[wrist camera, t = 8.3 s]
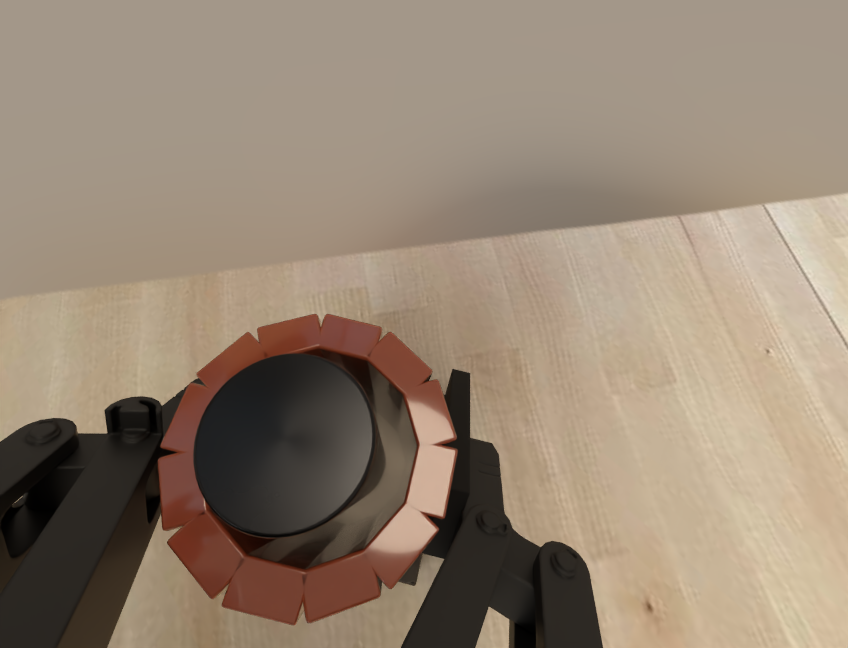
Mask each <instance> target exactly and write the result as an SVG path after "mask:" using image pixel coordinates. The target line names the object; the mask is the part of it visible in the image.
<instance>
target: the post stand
mask: <svg viewBox="0 0 848 648" xmlns="http://www.w3.org/2000/svg"><path fill="white" fill-rule="evenodd" d="M444 397H445V395H444ZM193 462H194V470H195V476H196V480H197V483H198V486H199V489H200V492H201V494H202V496H203V498H204V500H205V501H206V503H207V504H208V505H209V507H210V508H211V510H212V511H213V512H214V513H215V514H216V515H217V516H218V517H219V518H220V519H221V520H222V521H224V522H225V523H226V524H228V525H229V526H230V527H232V528H234V529H236V530H238V531H240V532H242V533H245V534H248V535H251V536H254V537H260V538H266V539H282V538H290V537H295V536H299V535H303V534H306V533H308V532H311V531H313V530H316V529H318V528H319V527H321V526H323V525H325V524H326V523H328V522H330V521H331V520H332V521H336V522H340V523H344V524H350V523H353V522H356V521H359V520H362V519H365V518H368V517H371V516H374V515H377V514H378V513H379V512H380V511H381V509H382V508H383V507H384V506H385V505H386V504H387V503H388V502H389V500H390V499H391V498H392V497H393V496H394V495H395V494H396V493H397V491H398V489H399V485H400V481H401V477H402V472H403V468H404V464H405V458H404V454H403V450H402V447H401V443H400V439H399V435H398V432H397V431H396V430H395V429H394V428H393V427H392V426H391V425H390V424H389V423H388V422H387V421H386V420H385V419H384V418H383V417H382V416H381V415H380V414H379V413H377V412H374V411H373V408H372V405H371V402H370V400H369V398H368V396H367V394H366V392H365V390H364V389H363V387H362V386H361V384H360V383H359V382H358V381H357V380H356V379H355V378H354V376H353V375H351V374H350V373H349V372H348V371H347V370H346V369H344V368H343V367H341V366H340V365H338V364H336V363H334V362H332V361H330V360H328V359H325V358H322V357H319V356H316V355H310V354H301V353H290V354H281V355H276V356H271V357H268V358H265V359H262V360H260V361H257V362H255V363H253V364H251V365H249V366H247V367H246V368H244V369H242V370H241V371H239V372H238V373H237V374H235V375H234V376H233V377H231V378H230V379H229V380H228V381H227V382H226V383H225V384H224V385H223V386H222V387H221V388H220V389H219V390H218V392H217V393H216V394H215V395H214V396H213V398H212V399H211V401H210V402H209V404H208V405H207V407H206V409H205V411H204V413H203V415H202V417H201V420H200V423H199V425H198V428H197V432H196V436H195V441H194V450H193ZM421 557H422V553H421V554H420V555H419V556H418V558H417V559H416V560H415V561H414V563H413V564H412V565H411V566H410V567H409V569H408V570H407V571H406V572H405V574H404V575H403V576H402V577H401V579H400V580H399V581H398V582H401V583H405V584H409V585H413V586H415V585H416V582H417V577H418V572H419V567H420V562H421Z"/></svg>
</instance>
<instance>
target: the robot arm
mask: <svg viewBox="0 0 848 648" xmlns="http://www.w3.org/2000/svg"><path fill="white" fill-rule="evenodd" d="M191 383H196V384H200V385H204V386H205V384H204V383H203V382H202V381H201V380H200V379H199V378H198V379H196V380H194V381H193V382H191ZM187 387H188V386H187ZM187 387H185V388H184V390H182V391H180V392H179V393H178V394H177V395H176V396H175V397H173V398H172V399H170V400H169V401H168V402H167V403H165V404H164V405H163V406H162V405H161V404H160V402H159V401H157V400H155V399H153V398H150V397H143V396H142V397H130V398H126V399H122V400H119V401H117V402H115V403H113V404H111V405H110V406H109V407H108V408H106V409H105V417H106V425H107V432H108V433H107V434H78V433H77V427H76V425H75V424H74V423H73V421H70V420H67V419H61V418H51V419H45V420H39V421H36V422H33V423H30V424H28V425H26V426H24V427H22V428H20V429H18V430H17V431H15V432H14V433H12V434H11V435H9V436H8V437H7V438H5V439H4V440H2V441H1V442H0V648H107V646H108V644H109V641H110V639H111V636H112V634H113V631H114V629H115V626H116V624H117V621H118V619H119V616H120V614H121V611H122V609H123V606H124V604H125V601H126V599H127V597H128V594H129V592H130V589H131V587H132V584H133V582H134V579H135V577H136V574H137V572H138V569H139V567H140V564H141V562H142V559H143V557H144V554H145V552H146V549H147V547H148V544H149V542H150V539H151V537H152V534H153V532H154V529H155V527H156V524H157V522H158V519H159V517H160V514H161V502H160V487H159V473H158V459H159V458H161V457H163V456H166V455H170V454H173V453H177V452H173V451H169V450H165V449H162V448H161V447H160V445H161V443H162V441H163V438H164V436H165V434H166V432H167V430H168V428H169V425H170V423H171V421H172V419H173V417H174V415H175V413H176V410H177V408H178V406H179V404H180V402H181V400H182V397H183V395H184V393H185V391H186V389H187ZM444 399H445V402H446V405H447V408H448V411H449V414H450V417H451V420H452V424H453V427H454V430H455V433H456V436H457V439H456V440H455V441H453V442H452V443H450V444H448V445H447V446H449V447H453V448H456V449H457V450H458V453H457V459H456V464H455V469H454V474H453V480H452V485H451V490H450V495H449V500H448V506H447V511H446V516H445V518H444V519H439V518H435V517H431V516H428V517H429V518H430V519H431V520H432V521H433V522H434V523H435V524H436V525H437V526H438V527H439V532H438V533H437V534H436V535H435V537H434V538H433V539H432V540H431V542H430V543H429V544H428V545H427V547H426V548H425V549H424V550H423V551H422V553H423V554H427V555H431V556H435V557H439V558H443V559H444V561H443V563H442V565H441V567H440V569H439V571H438V573H437V575H436V577H435V579H434V581H433V583H432V585H431V587H430V589H429V591H428V593H427V595H426V597H425V600H424V602H423V604H422V606H421V608H420V610H419V612H418V614H417V616H416V618H415V620H414V622H413V624H412V626H411V628H410V630H409V632H408V634H407V636H406V638H405V640H404V642H403V644H402V646H401V648H475V647H476V643H477V640H478V637H479V634H480V631H481V628H482V625H483V622H484V619H485V616H486V613H487V610H488V607H491V608H492V609H494V610H496V611H497V612H499V613H500V614H502V615H504V616H505V617H507V618H508V619H509V648H603V645H602V640H601V634H600V629H599V623H598V618H597V612H596V607H595V601H594V596H593V590H592V585H591V579H590V574H589V571H588V568H587V565H586V563H585V562H584V560H583V559H582V558H581V556H580V555H579V554H578V553H577V552H576V551H575V550H573V549H572V548H571V547H569V546H567V545H565V544H563V543H561V542H555V541H551V542H547V543H545V544H544V545H543V546H542V547H539V546H537V545H535V544H534V543H532V542H530V541H528V540H526V539H525V538H523V537H522V536H520V535H519V534H518V533H517V532H516V531H515V530H514V529H513V528H512V526H511V523H510V520H509V519H508V518H507V516H506V515H505V513H504V505H503V494H502V484H501V477H500V476H501V473H500V468H499V467H500V463H499V454H498V453H497V451H496V449H495V447H494V446H493V444H492V443H488V442H484V441H480V440H476V439H472V438H470V373H467V372H463V371H459V370H455V369H453V370H452V373H451V377H450V380H449V383H448V387H447V390H446V394H445V397H444ZM22 496H23V497H22ZM20 497H22V498H21V499H19V498H20ZM18 499H19V500H18ZM17 500H18V501H17ZM16 501H17V502H16ZM15 502H16V503H15ZM13 503H14V504H13Z"/></svg>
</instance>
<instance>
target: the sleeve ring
mask: <svg viewBox="0 0 848 648" xmlns="http://www.w3.org/2000/svg"><path fill="white" fill-rule="evenodd" d="M257 333H258V339H259V342H258V341H257V340H256V339H255V338H254V337H253V336H252V335H251V334H250V333H249V332H247V333H245V334H244V335H243V336H242V337H240V338H239V339H238V340H237V341H236V342H234V343H233V344H232V345H231V346H229V347H228V348H227V349H226V350H225V351H223V352H222V353H221V354H220V355H218V356H217V357H216V358H215V359H213V360H212V361H211V362H210V363H209V364H207V365H206V366H205V367H204V368H202V369H201V370H200V371H199V372H197V374H196V375H197V377H198V378H199V379H200V380H201V381H202V382H203V383H204V384H205V386H204V385H200V384H196V383H190V384H189V385H188V387H187V389H186V391H185V393H184V395H183V397H182V400H181V402H180V404H179V406H178V408H177V410H176V413H175V415H174V417H173V419H172V421H171V423H170V425H169V428H168V430H167V432H166V434H165V436H164V438H163V441H162V443H161V445H160V447H161V448H162V449H165V450H169V451H173V452H177V453H173V454H170V455H166V456H163V457H161V458H159V459H158V473H159V487H160V502H161V516H162V528H163V530H164V531H170V530H174V529H178V528H180V529H179V530H178V531H177V532H176V533H175V534H174V535H173V536H172V537H171V538H170V539H169V540H168V542H167V543H168V545H169V546H170V548H171V549H172V550H173V552H174V553H175V554H176V555H177V557H178V558H179V559H180V560H181V562H182V563H183V564H184V566H185V567H186V568H187V569H188V571H189V572H190V573H191V574H192V576H193V577H194V578H195V580H196V581H197V582H198V583H199V585H200V586H201V587H202V588H203V590H204V591H205V592H206V594H207V595H208V596H209V597H210V598H211V599H214V598H216V597H217V596H219V595H220V594H222V593H223V592H225V591H226V590H227V591H226V593H225V596H224V599H223V602H222V607H223V608H227V609H231V610H235V611H239V612H243V613H247V614H250V615H254V616H258V617H262V618H266V619H270V620H274V621H278V622H282V623H286V624H289V625H295V624H296V623H297V621H298V620H299V618H300V617H301V615H302V614H303V612H305V618H306V621H307V623H313V622H316V621H319V620H321V619H324V618H327V617H329V616H332V615H335V614H337V613H340V612H343V611H345V610H348V609H351V608H353V607H356V606H359V605H361V604H364V603H367V602H370V601H372V600H375V599H378V598H379V597H380V596H381V586H382V582H383V583H384V584H385V585H386V586H387V587H388V588H389V589H392V588H393V587H394V586H395V585H396V583H397V582H398V581H399V580H400V579H401V577H402V576H403V575H404V574H405V572H406V571H407V570H408V569H409V567H410V566H411V565H412V564H413V563H414V561H415V560H416V559H417V558H418V556H419V555H420V554H421V553H422V551H423V550H424V549H425V548H426V547H427V545H428V544H429V543H430V542H431V540H432V539H433V538H434V537H435V535H436V534H437V533H438V532H439V527H438V526H437V525H436V524H435V523H434V522H433V521H432V520H431V519H430V518H429V517H428V516H431V517H435V518H439V519H444V518H445V516H446V511H447V506H448V500H449V495H450V490H451V485H452V480H453V474H454V469H455V464H456V459H457V453H458V450H457V449H456V448H453V447H449V446H447V445H448V444H450V443H452V442H453V441H455V440H456V439H457V436H456V433H455V430H454V427H453V424H452V420H451V417H450V414H449V411H448V408H447V405H446V402H445V399H444V395H443V392H442V389H441V386H440V383H439V381H438V380H437V379H434V380H431V381H429V379H430V377H431V374H432V372H433V371H432V369H431V368H429V367H428V366H427V365H426V364H425V363H424V362H423V361H422V360H421V359H420V358H419V357H418V356H417V355H415V354H414V353H413V352H412V351H411V350H410V349H409V348H408V347H407V346H406V345H405V344H404V343H403V342H401V341H400V340H399V339H398V338H397V337H396V336H395V335H394V334H393V333H392V332H389V333H387V334H386V335H385V336H384V337H383V335H382V328H381V327H379V326H375V325H371V324H367V323H363V322H359V321H355V320H351V319H347V318H343V317H339V316H335V315H330V314H326V315H325V317H324V319H323V322H322V324H321V321H320V319H319V317H318V315H317V314H312V315H308V316H304V317H300V318H296V319H291V320H287V321H283V322H279V323H275V324H271V325H266V326H262V327H259V328H258V329H257ZM290 353H301V354H310V355H316V356H319V357H322V358H325V359H328V360H330V361H332V362H334V363H336V364H338V365H340V366H341V367H343V368H344V369H346V370H347V371H348V372H349V373H350V374H351V375H353V376H354V378H355V379H356V380H357V381H358V382H359V383H360V384H361V386H362V387H363V389H364V390H365V392H366V394H367V396H368V398H369V400H370V402H371V405H372V408H373V411H374V412H377V413H379V414H380V415H381V416H382V417H383V418H384V419H385V420H386V421H387V422H388V423H389V424H390V425H391V426H392V427H393V428H394V429H395V430H396V431H397V432H398V435H399V439H400V443H401V447H402V450H403V454H404V458H405V464H404V468H403V472H402V477H401V481H400V485H399V489H398V491H397V493H396V494H395V495H394V496H393V497H392V498H391V499H390V500H389V502H388V503H387V504H386V505H385V506H384V507H383V508H382V509H381V511H380V512H379V513H378V514H377V515H374V516H371V517H368V518H365V519H362V520H359V521H356V522H353V523H350V524H344V523H340V522H336V521H332V520H331V521H330V522H328V523H326V524H325V525H323V526H321V527H319V528H318V529H316V530H313V531H311V532H308V533H306V534H303V535H299V536H295V537H290V538H282V539H266V538H260V537H254V536H251V535H248V534H245V533H242V532H240V531H238V530H236V529H234V528H232V527H230V526H229V525H228V524H226V523H225V522H224V521H222V520H221V519H220V518H219V517H218V516H217V515H216V514H215V513H214V512H213V511H212V510H211V508H210V507H209V505H208V504H207V503H206V501H205V500H204V498H203V496H202V494H201V492H200V489H199V486H198V483H197V480H196V476H195V470H194V462H193V450H194V441H195V436H196V432H197V428H198V425H199V423H200V420H201V417H202V415H203V413H204V411H205V409H206V407H207V405H208V404H209V402H210V401H211V399H212V398H213V396H214V395H215V394H216V393H217V392H218V390H219V389H220V388H221V387H222V386H223V385H224V384H225V383H226V382H227V381H228V380H229V379H230V378H231V377H233V376H234V375H235V374H237V373H238V372H239V371H241V370H242V369H244V368H246V367H247V366H249V365H251V364H253V363H255V362H257V361H260V360H262V359H265V358H268V357H271V356H276V355H281V354H290Z"/></svg>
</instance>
